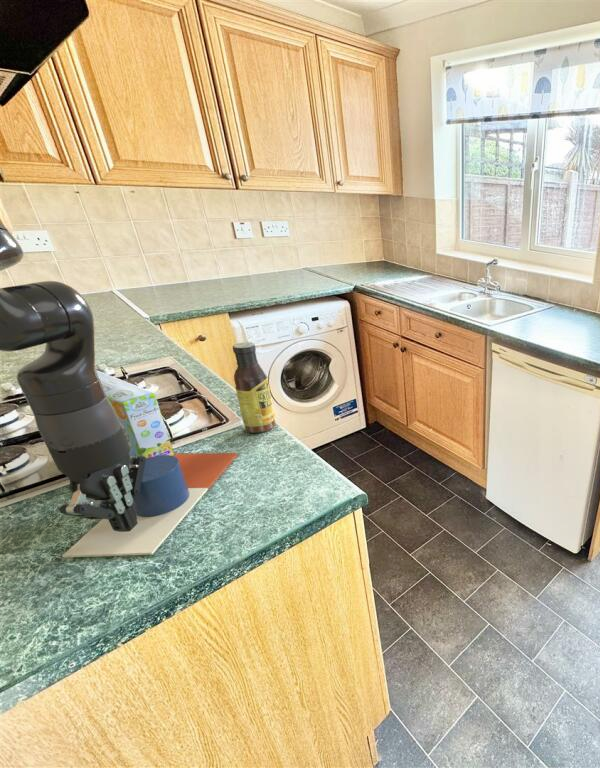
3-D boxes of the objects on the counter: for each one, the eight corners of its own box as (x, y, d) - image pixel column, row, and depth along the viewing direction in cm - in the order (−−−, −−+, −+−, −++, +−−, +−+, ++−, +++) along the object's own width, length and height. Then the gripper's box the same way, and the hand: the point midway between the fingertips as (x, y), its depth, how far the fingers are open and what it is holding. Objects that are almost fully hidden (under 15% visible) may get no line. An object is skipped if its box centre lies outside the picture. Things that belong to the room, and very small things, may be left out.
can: (122, 518, 68) (107, 483, 65) (151, 488, 75) (139, 455, 72) (173, 516, 69) (161, 481, 66) (198, 486, 76) (188, 454, 73)
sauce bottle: (271, 434, 93) (253, 350, 85) (240, 435, 92) (219, 350, 84) (280, 419, 99) (264, 340, 91) (252, 420, 98) (233, 340, 90)
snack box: (180, 459, 83) (156, 391, 76) (147, 475, 78) (118, 403, 72) (123, 431, 91) (96, 367, 84) (90, 444, 86) (59, 377, 80)
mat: (62, 557, 61) (61, 555, 61) (174, 455, 84) (174, 453, 84) (152, 554, 62) (151, 552, 62) (237, 454, 86) (237, 453, 86)
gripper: (93, 409, 63) (132, 500, 70) (4, 460, 51) (62, 563, 58) (147, 409, 64) (180, 499, 71) (72, 459, 52) (121, 561, 59)
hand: (127, 528), depth 64 cm, fingers closed
